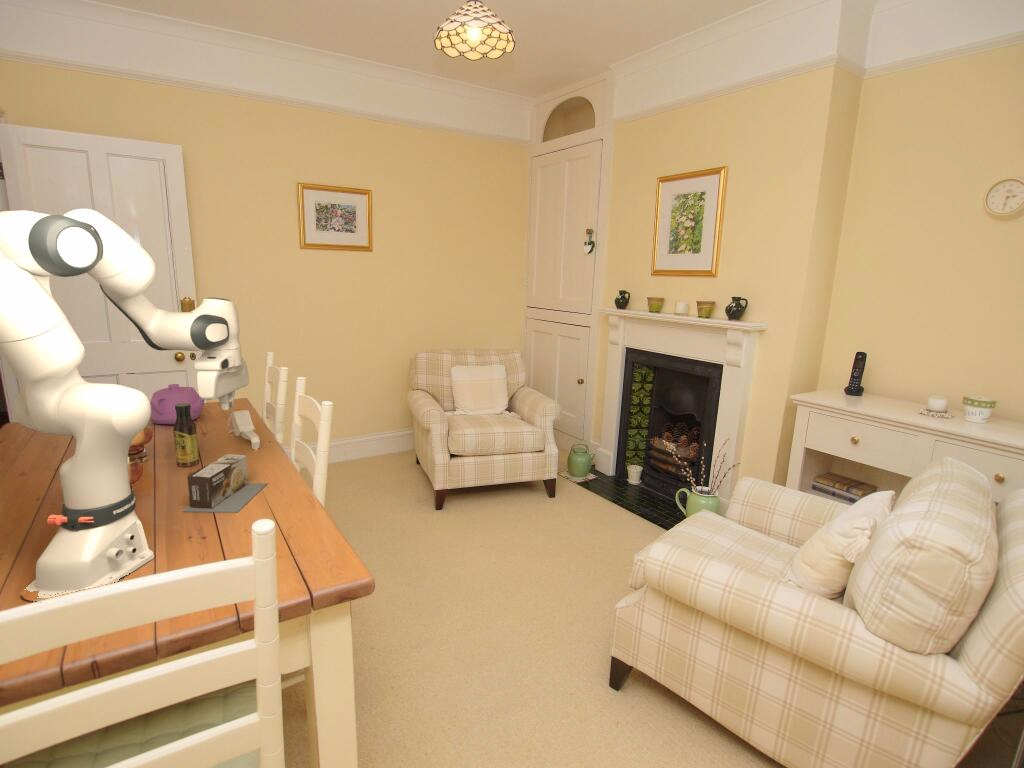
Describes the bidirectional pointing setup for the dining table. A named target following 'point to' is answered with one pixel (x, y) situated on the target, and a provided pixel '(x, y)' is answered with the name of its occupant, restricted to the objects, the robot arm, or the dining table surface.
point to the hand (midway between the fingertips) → (227, 408)
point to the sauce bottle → (185, 437)
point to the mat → (233, 500)
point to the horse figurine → (244, 427)
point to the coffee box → (217, 481)
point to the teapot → (174, 403)
